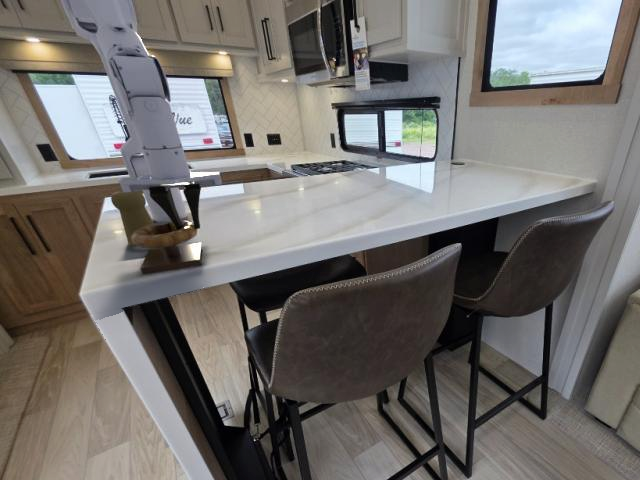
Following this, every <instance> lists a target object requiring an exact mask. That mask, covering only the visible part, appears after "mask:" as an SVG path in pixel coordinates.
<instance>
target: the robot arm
mask: <svg viewBox="0 0 640 480" xmlns="http://www.w3.org/2000/svg"><path fill="white" fill-rule="evenodd" d="M60 3H61V5H62V8H63V10H64V12H65V15H66V17H67V18H68V20H69V23H70V26H71V28H72V30H74V31H75V34H76V35H77V36H78V37H80V38H82V39H84V40H87V41H89V42H90V43H91V44H92V46H93V48H94V49H95V50H96V52H97V53H98V55H99V56H100V59H101V62H102V65H103V67H104V70H105V72H106V75H107V78H108V81H109V83H110V86H111V89H112V91H113V94H114V97H115V99H116V102H117V104H118V107H119V111H120V112H121V116H122V118H123V121H124V124H125V126H126V129H127V131H128V135H129V138H128V139H127V140H126V141H125V142H124V143H123V144H122V145H121V146H120V154H121V156H122V161H123V164H124V166H125V169H126V171H127V173H128V176H129V177H121V178H119V179H118V183H119V185H120V188H121V191H122V190H123V192H132V191H142V194H143V195H144V197H145V200H146V204H147V206H148V208H149V211H150V214H151V216H152V217H151V218H152V220H153V222H154V221H155V222H156V223H157V222H161V221H171V220H172V222H173V223H174V225H175V227H176V229H177V230H180V229H182V228H183V225H182V222H181V220H184V219H186V218H187V217H188V212H187V207H186V205H185V202H184V199H183V196H182V192H183V195H184V198H185V201H186V203H187V205H188V208H189V211H190V214H191V218H192V223H194V226H195V229H198V230H199V229H201V222H200V214H199V213H200V212H199V209H200V199H201V197H200V196H201V191H202V187H204V186H222V185H223V182H222V178H221V175H220V171H211V172H208V171H207V172H205V171H204V172H203V171H202V172H201V171H200V172H197V171H196V172H191V169H190V167H189V164H188V161H187V156H186V154H185V151H184V148H183V145H182V141H181V137H180V134H179V131H178V127H177V124H176V121H175V118H174V115H173V111H172V108H171V105H170V103H171V101H172V100H171V90H170V85H169V82H168V79H167V76H166V73H165V70H164V69H163V66H162V64H161V62H160V60H159V58H158V57H157V56H154V55H150V54H149V52H148V50H147V48H146V46H145V44H144V43H143V41H142V39H141V37H140V35H139V34H138V19H137V15H136V11H135V7H134V3H133V1H132V0H60ZM180 188H183V190H182V192H181V190H180Z"/></svg>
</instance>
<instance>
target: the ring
mask: <svg viewBox="0 0 640 480" xmlns="http://www.w3.org/2000/svg"><path fill="white" fill-rule="evenodd" d="M180 220H181V222H182V225H183V228H182V229H180V230H177V229H176V227H175V225H174V223H173V222H172V220H171V221H168V222H170V225H171V228H172V231H173V232H170V233H165V234H158V235H157V232H156V230H155V227H154V224H150V225H146V226H144V227H142V228H139V229H137V230H135V231H134V233H133V234H132V236H131V240H132V242H133V243H134V244H136V245H138V246H137V247H140V248H143V249H159V248H162V247H168V246H174V245H181V244H184V243H186V242H188V241H190V240H192V239H194V238H195V237H196V236H197V234H198V230H199V229H195V226H194V223H193V221H189V220H184V219H180Z"/></svg>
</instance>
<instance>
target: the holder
mask: <svg viewBox="0 0 640 480" xmlns="http://www.w3.org/2000/svg"><path fill="white" fill-rule="evenodd" d="M153 223H154V227H155V230H156V232H157V235H158V234H165V233H170V232H173V231H172V228H171V225H170V222H168V221H161V222H157V221H156V222H153ZM203 252H204V250H203V248H202V242H198V243H190V244H184V245H179V244H177V245H174V246H168V247H162V248H151V249H148V251H147V252H146V255H145V257H144V259H143V261H142V264H141V266H140V268H139V269H140V272H141V274H142V275H149V274H155V273H161V272H168V271H175V270H181V269H186V268H194V267H200V266H202V262H203Z"/></svg>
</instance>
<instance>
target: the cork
mask: <svg viewBox="0 0 640 480" xmlns="http://www.w3.org/2000/svg"><path fill="white" fill-rule="evenodd" d="M110 200H111V201H110V202H111V204H112V205H113V206H114V208H115V209H117V210H119V214H120V217H121V221H122V225H123V229H124V232H125V236H126V240H127V244H128V245H129V246H132V247H133V246H134V247H139V246H138V245H136V244H134V243H133V242H132V240H131V236H132V234H133V233H134V231H135V230H137V229H139V228H142V227H144V226H146V225H150V224H154V223H155V222H154V220H153V218H152V217H151V215H150V214H149V212H148V210H147V208H146V204H147V201H146V199H145V196H144V193H143V192H141V191H140V190H138V191H132V192H123V190H122V189H121V190H119V191H115V192H113V193H111V196H110Z"/></svg>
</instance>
